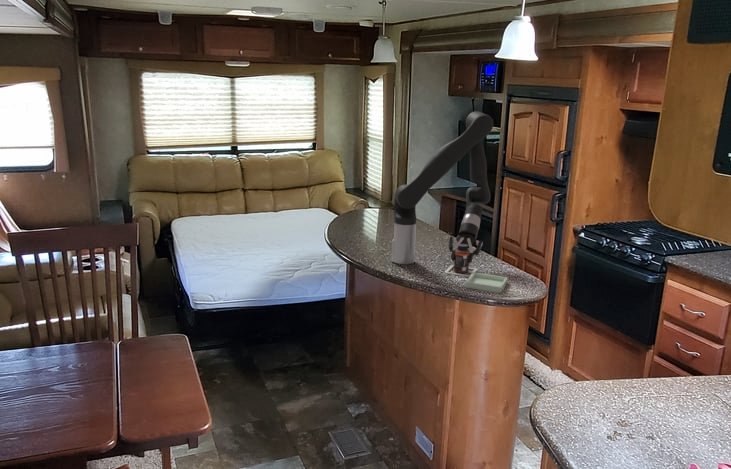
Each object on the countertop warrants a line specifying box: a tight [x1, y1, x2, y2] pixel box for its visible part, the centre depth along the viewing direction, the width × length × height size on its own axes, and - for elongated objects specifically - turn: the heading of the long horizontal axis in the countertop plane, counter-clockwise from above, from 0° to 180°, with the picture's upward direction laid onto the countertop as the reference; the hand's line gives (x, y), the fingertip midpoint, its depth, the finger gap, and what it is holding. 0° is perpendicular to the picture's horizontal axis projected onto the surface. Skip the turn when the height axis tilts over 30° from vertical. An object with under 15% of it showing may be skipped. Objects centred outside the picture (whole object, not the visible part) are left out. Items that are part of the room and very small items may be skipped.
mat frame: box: [443, 264, 479, 278], centre depth 236 cm, size 11×11×1 cm
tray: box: [464, 271, 509, 294], centre depth 220 cm, size 14×14×2 cm
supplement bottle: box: [453, 244, 470, 274], centre depth 235 cm, size 6×6×11 cm
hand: (460, 260), depth 234 cm, fingers closed on supplement bottle, 6 cm apart
